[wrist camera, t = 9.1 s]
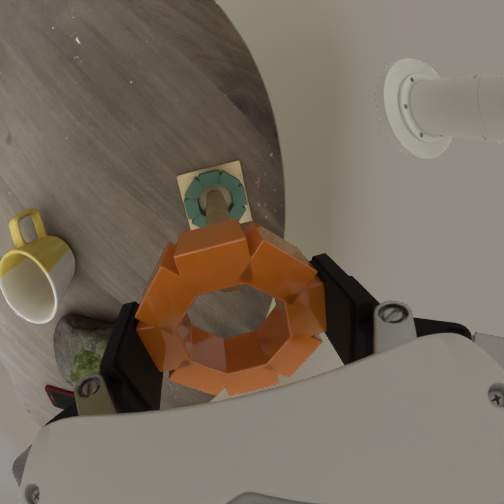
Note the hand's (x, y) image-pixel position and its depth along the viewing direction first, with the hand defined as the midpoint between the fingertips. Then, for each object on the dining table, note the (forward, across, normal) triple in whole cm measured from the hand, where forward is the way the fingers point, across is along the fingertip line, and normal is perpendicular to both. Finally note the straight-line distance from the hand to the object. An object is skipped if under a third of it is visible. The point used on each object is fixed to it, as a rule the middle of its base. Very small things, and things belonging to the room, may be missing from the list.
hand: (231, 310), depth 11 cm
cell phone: (+26, +44, +34) cm, 61 cm away
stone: (+26, +25, +18) cm, 40 cm away
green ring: (+25, 0, 0) cm, 25 cm away
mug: (+26, +25, 0) cm, 36 cm away
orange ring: (+1, 0, 0) cm, 1 cm away
